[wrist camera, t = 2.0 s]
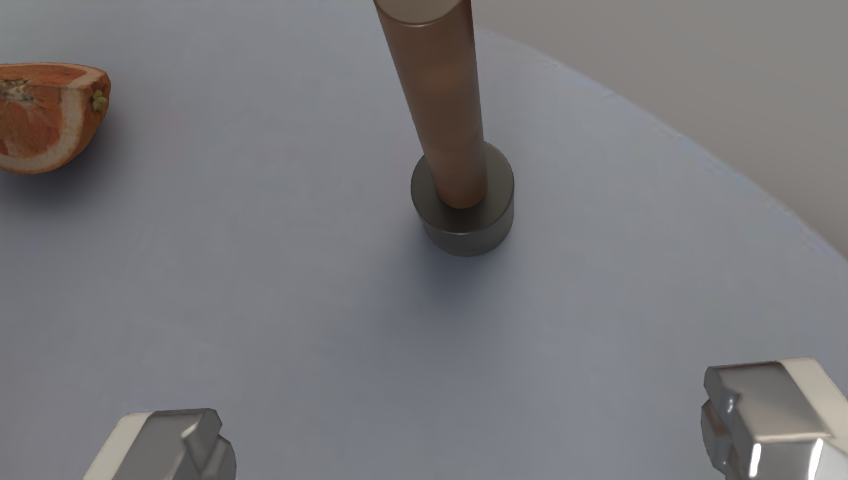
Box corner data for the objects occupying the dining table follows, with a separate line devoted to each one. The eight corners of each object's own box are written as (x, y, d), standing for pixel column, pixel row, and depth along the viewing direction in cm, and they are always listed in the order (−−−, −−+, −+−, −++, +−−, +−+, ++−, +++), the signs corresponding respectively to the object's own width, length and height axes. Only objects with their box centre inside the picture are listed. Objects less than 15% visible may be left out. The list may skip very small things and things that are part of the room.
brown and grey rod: (513, 169, 30) (518, -107, 14) (513, 257, 29) (519, 66, 13) (424, 171, 31) (330, -92, 15) (421, 257, 30) (316, 74, 14)
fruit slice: (155, 82, 34) (99, 30, 30) (121, 196, 33) (56, 160, 28) (24, 70, 36) (-50, 18, 31) (-15, 179, 34) (-99, 142, 30)
